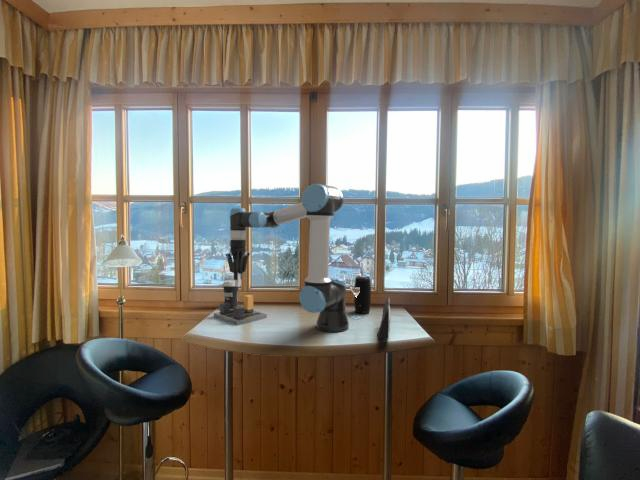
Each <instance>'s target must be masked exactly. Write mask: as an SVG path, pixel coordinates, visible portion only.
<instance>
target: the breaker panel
mask: <svg viewBox="0 0 640 480" xmlns="http://www.w3.org/2000/svg"><path fill="white" fill-rule="evenodd" d="M267 316H268V315H267V313H265V312H262V311H261V312H260V311H257V310H254V309H253V311H252V312H245V311H244V306H240V305H239V306H237V307H234V309H230V303H227V302H225V301H224V302H221V303H219V311H218V312H214V313H213V318H215V319H218V320H220V321H223V322H226V323H229V324H232V325H234V326H240V325H244V324H248V323H252V322H256V321H260V320H263V319H267Z"/></svg>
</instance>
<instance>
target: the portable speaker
mask: <svg viewBox="0 0 640 480" xmlns="http://www.w3.org/2000/svg"><path fill="white" fill-rule="evenodd" d="M371 286H372V285H371V277H370V276H360V275H358V276H355V281H354V288H355V287H360V293H359V295H358V296H357V298H356V297H355V295H354V300H353V303H354V312H356V313H355V314H359V313H360V314H362V315H367V313H368V314H369V313H370V311H371V310H370V309H371V301H372V299H371V298H372V287H371Z"/></svg>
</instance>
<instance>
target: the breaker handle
mask: <svg viewBox="0 0 640 480" xmlns="http://www.w3.org/2000/svg"><path fill="white" fill-rule="evenodd" d="M243 307H244V311H245V312H252V311H253V310H254V295H252V294H247V295H246V294H245V295H243Z"/></svg>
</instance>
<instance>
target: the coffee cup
mask: <svg viewBox="0 0 640 480" xmlns="http://www.w3.org/2000/svg"><path fill="white" fill-rule="evenodd" d="M222 287H223V298H224V303H225V302H227V303H230V310H232V309H234V307H238V301H239V290H240V287H237V286H235V280H234V279H227V280H224V281H223V283H222Z"/></svg>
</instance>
